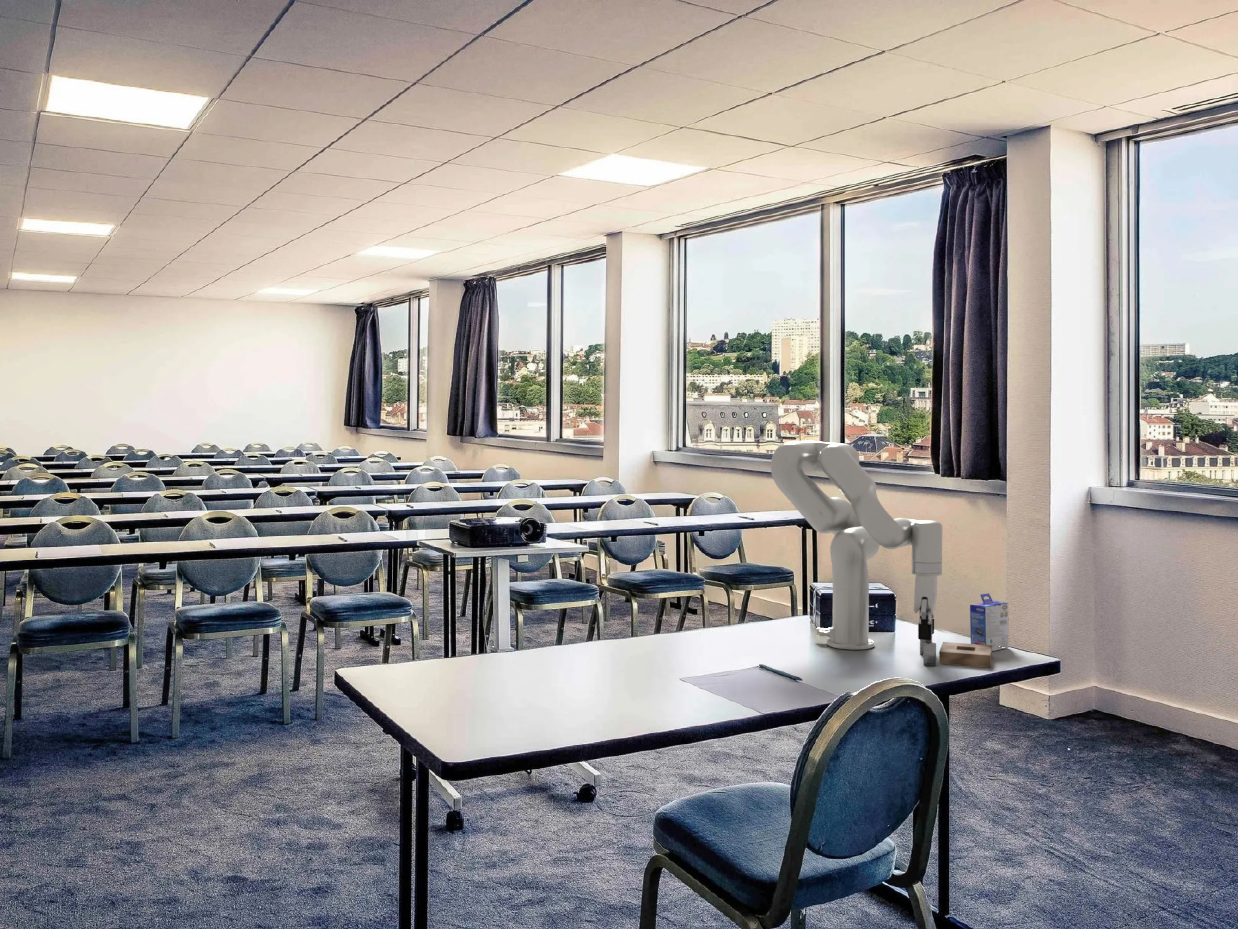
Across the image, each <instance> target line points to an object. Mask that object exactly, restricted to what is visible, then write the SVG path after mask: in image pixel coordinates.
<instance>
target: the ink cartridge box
mask: <svg viewBox="0 0 1238 929" xmlns="http://www.w3.org/2000/svg"><path fill="white" fill-rule="evenodd" d="M979 596H980V598H981V600H982V602H978V603H973V604H970V605H969V611H970V612H969V618H970V619H969V621H970V626H969V627H970V644H978V645H992V652H994V651H999V650H1004V649H1008V648H1009V647H1010V646H1009V644H1010V643H1009V639H1010V638H1009V603H1008V602H1005V601H1004V602H1003V601H998V600H993V599H992V597H991V594H990V593H982V594H980V595H979ZM986 597H987V598H986ZM985 598H986V599H985ZM999 646H1000V647H999ZM1002 647H1006V648H1002Z"/></svg>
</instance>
